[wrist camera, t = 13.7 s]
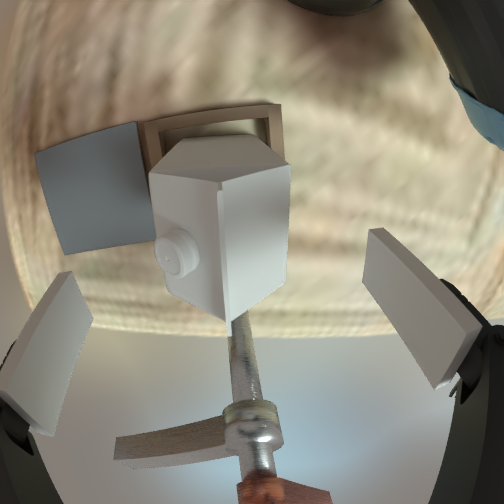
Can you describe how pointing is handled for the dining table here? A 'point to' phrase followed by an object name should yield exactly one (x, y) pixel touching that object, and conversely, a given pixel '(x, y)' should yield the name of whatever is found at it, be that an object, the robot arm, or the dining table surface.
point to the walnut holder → (213, 116)
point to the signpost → (228, 435)
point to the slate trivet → (98, 190)
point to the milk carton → (221, 222)
